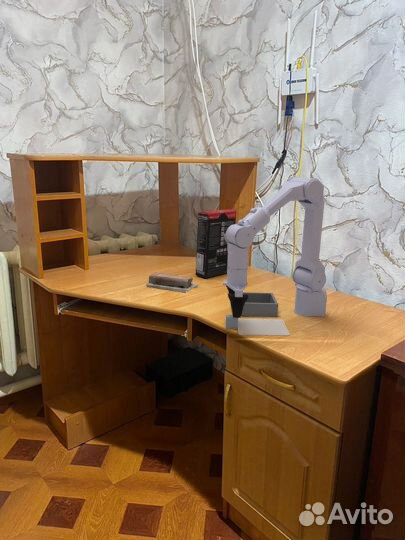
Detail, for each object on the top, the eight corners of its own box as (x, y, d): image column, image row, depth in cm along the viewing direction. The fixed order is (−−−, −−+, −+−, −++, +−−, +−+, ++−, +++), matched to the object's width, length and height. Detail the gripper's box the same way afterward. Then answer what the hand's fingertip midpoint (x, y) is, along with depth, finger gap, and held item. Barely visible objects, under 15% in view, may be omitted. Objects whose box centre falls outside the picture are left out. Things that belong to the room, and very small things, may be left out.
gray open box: (271, 306, 142) (272, 292, 141) (277, 319, 132) (278, 304, 131) (230, 305, 142) (230, 291, 141) (232, 318, 132) (233, 303, 130)
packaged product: (145, 275, 160) (157, 269, 168) (145, 288, 161) (157, 281, 170) (188, 282, 153) (198, 275, 162) (188, 294, 154) (198, 287, 163)
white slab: (282, 323, 129) (283, 310, 128) (289, 339, 118) (291, 325, 117) (224, 322, 129) (224, 309, 128) (226, 338, 118) (227, 323, 117)
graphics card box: (222, 269, 188) (224, 208, 180) (234, 272, 183) (237, 209, 176) (195, 276, 176) (196, 211, 169) (206, 279, 171) (208, 213, 164)
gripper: (222, 260, 126) (220, 303, 129) (224, 274, 112) (223, 321, 115) (245, 261, 126) (243, 303, 129) (251, 274, 112) (248, 322, 115)
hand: (235, 312), depth 122 cm, fingers open, 7 cm apart
